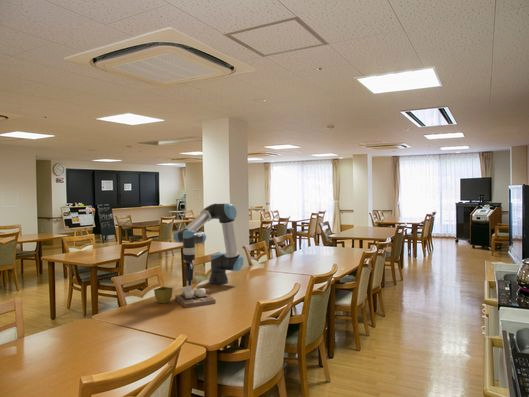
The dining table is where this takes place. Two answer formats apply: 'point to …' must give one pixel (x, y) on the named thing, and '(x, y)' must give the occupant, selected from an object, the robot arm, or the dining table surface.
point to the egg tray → (195, 300)
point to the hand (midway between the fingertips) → (189, 290)
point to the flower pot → (163, 294)
